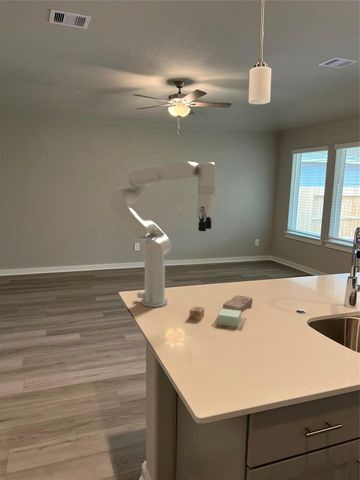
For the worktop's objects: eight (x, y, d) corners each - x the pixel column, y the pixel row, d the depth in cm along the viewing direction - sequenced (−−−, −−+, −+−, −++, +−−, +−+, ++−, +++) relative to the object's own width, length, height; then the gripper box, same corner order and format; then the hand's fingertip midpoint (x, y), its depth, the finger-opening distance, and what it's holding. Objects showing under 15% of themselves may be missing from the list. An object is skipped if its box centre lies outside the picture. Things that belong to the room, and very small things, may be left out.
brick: (238, 317, 158) (239, 306, 157) (221, 313, 162) (221, 303, 162) (252, 306, 172) (253, 297, 171) (236, 303, 176) (236, 294, 175)
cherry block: (189, 321, 151) (189, 310, 150) (192, 317, 155) (192, 306, 155) (200, 323, 149) (201, 311, 149) (203, 319, 154) (204, 307, 153)
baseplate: (211, 328, 143) (211, 326, 143) (218, 316, 156) (218, 314, 156) (241, 333, 140) (241, 330, 139) (246, 320, 153) (246, 318, 153)
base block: (217, 324, 145) (218, 314, 145) (222, 317, 153) (222, 308, 152) (237, 327, 143) (238, 317, 142) (240, 320, 150) (241, 310, 150)
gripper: (202, 190, 167) (201, 227, 170) (192, 191, 151) (191, 231, 153) (218, 191, 165) (217, 228, 167) (209, 191, 149) (208, 232, 151)
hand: (204, 229), depth 160 cm, fingers open, 9 cm apart
